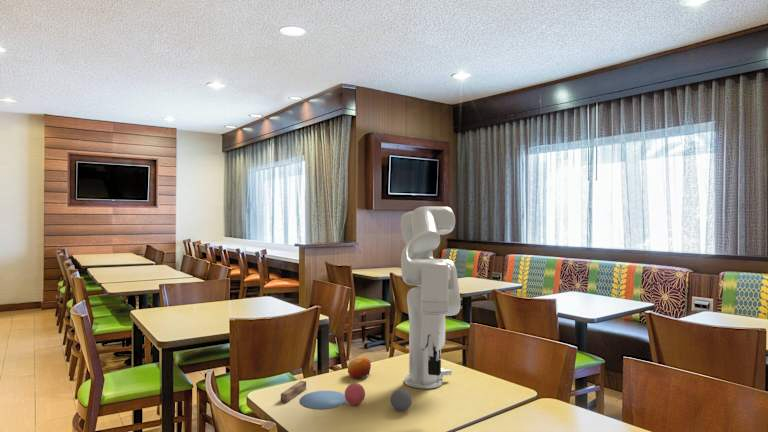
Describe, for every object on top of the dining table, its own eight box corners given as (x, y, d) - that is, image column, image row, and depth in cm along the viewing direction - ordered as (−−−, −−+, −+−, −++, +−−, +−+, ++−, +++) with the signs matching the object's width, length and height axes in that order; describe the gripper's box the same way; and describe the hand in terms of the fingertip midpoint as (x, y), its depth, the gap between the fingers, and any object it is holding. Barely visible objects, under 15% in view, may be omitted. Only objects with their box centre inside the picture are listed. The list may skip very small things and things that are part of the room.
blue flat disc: (339, 389, 154) (339, 388, 154) (353, 405, 141) (353, 404, 141) (295, 394, 149) (295, 394, 149) (305, 411, 136) (305, 411, 136)
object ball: (361, 399, 146) (361, 379, 146) (367, 406, 140) (368, 385, 140) (341, 401, 144) (342, 381, 144) (347, 409, 138) (348, 388, 138)
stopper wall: (300, 388, 154) (300, 380, 154) (306, 389, 154) (306, 381, 154) (280, 402, 143) (280, 393, 143) (286, 403, 142) (286, 394, 142)
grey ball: (406, 405, 141) (406, 384, 141) (415, 413, 136) (415, 391, 136) (387, 408, 139) (387, 387, 139) (395, 416, 133) (395, 394, 133)
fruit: (373, 377, 161) (361, 356, 162) (353, 388, 162) (341, 366, 163) (378, 370, 169) (367, 349, 170) (359, 380, 170) (348, 360, 171)
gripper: (427, 302, 142) (427, 365, 142) (414, 310, 128) (414, 380, 128) (453, 303, 140) (453, 368, 139) (442, 312, 126) (442, 383, 125)
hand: (434, 374), depth 134 cm, fingers closed
